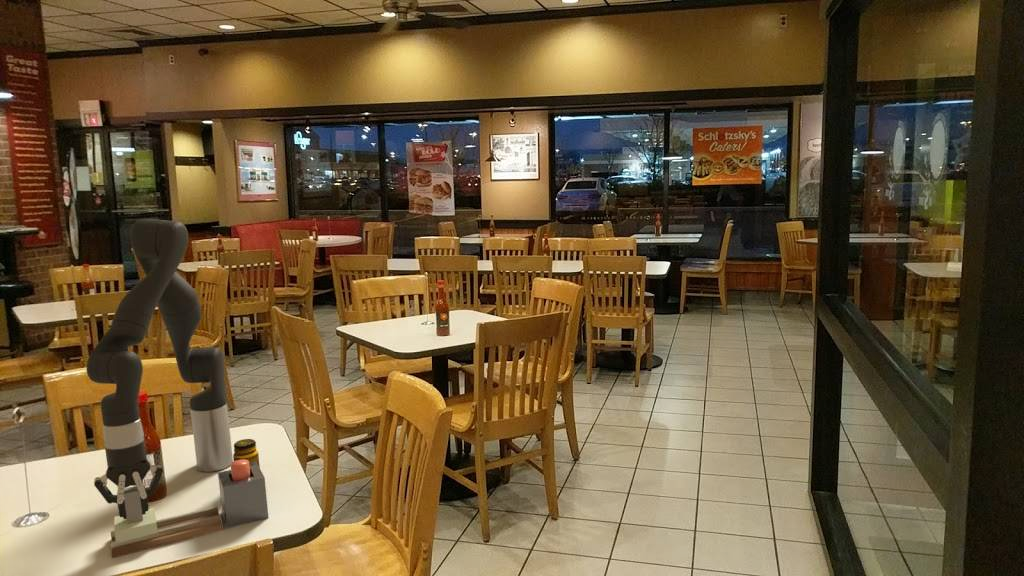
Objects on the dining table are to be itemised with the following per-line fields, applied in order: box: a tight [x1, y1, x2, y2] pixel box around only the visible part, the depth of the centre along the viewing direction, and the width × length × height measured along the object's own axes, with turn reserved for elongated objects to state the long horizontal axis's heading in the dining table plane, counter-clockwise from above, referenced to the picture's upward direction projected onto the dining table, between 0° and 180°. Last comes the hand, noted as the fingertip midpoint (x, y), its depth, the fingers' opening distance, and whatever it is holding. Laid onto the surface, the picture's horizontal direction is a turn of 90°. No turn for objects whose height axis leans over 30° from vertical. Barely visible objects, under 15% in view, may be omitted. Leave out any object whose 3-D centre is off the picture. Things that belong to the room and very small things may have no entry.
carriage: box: [113, 486, 158, 543], centre depth 156 cm, size 8×8×10 cm
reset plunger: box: [230, 460, 250, 481], centre depth 166 cm, size 4×4×6 cm
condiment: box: [232, 438, 266, 487], centre depth 182 cm, size 7×8×12 cm
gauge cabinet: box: [217, 464, 269, 529], centre depth 167 cm, size 9×9×10 cm
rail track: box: [110, 505, 224, 559], centre depth 160 cm, size 9×22×2 cm, turn 119°
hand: (134, 515), depth 156 cm, fingers closed on carriage, 3 cm apart
